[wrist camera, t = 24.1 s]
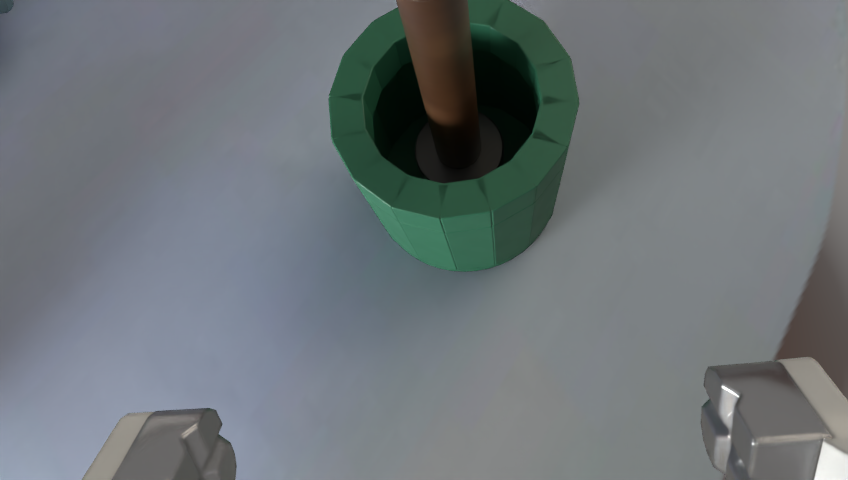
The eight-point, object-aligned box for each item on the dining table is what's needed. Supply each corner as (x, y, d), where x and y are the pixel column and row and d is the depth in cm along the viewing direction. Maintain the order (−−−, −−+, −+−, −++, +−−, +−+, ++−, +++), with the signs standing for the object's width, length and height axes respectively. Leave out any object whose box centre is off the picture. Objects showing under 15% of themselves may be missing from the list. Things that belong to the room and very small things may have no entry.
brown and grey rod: (503, 139, 35) (502, -100, 18) (504, 214, 34) (502, 30, 17) (425, 141, 35) (357, -90, 19) (423, 215, 34) (347, 38, 18)
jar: (594, 164, 34) (628, 70, 25) (481, 309, 33) (472, 268, 24) (450, 71, 37) (430, -47, 28) (340, 201, 36) (280, 125, 26)
